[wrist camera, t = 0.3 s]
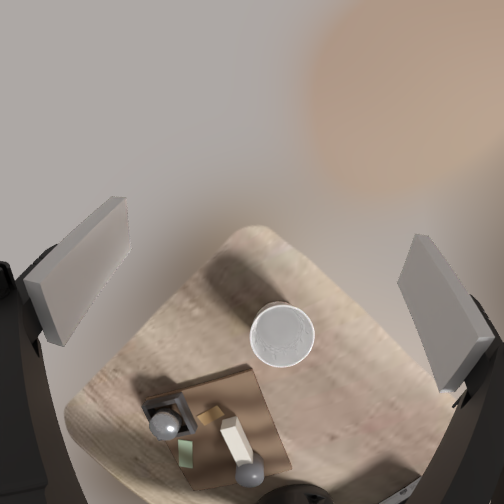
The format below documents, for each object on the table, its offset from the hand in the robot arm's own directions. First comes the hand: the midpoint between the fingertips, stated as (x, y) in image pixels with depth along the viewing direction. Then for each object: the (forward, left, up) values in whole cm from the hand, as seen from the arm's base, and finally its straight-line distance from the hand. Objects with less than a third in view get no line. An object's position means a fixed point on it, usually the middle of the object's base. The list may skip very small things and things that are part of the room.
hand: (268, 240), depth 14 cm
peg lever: (-28, +13, -33) cm, 45 cm away
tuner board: (-26, +16, -34) cm, 46 cm away
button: (-19, +22, -31) cm, 42 cm away
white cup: (-10, +1, -35) cm, 36 cm away
